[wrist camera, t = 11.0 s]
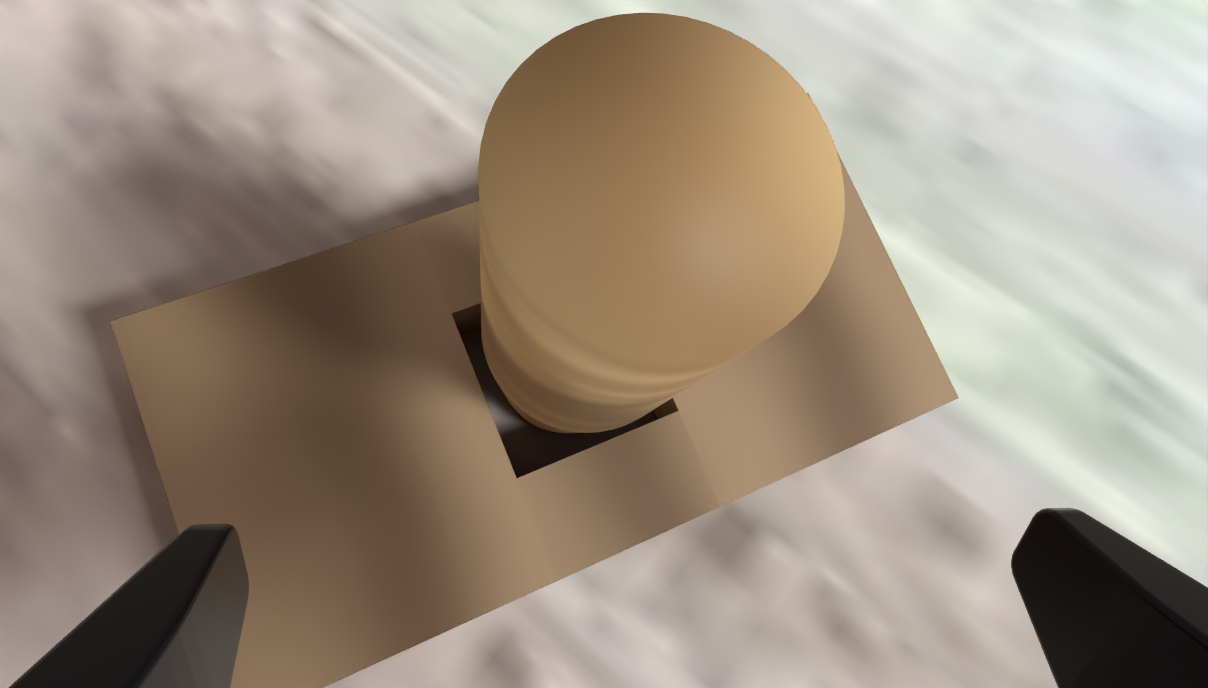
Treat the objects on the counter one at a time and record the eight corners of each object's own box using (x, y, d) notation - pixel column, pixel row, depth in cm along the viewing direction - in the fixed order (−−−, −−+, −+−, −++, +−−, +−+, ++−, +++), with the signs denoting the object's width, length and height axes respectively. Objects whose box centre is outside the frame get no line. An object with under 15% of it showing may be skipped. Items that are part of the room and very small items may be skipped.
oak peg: (515, 480, 22) (567, 421, 8) (460, 339, 22) (422, 68, 9) (654, 422, 23) (905, 284, 9) (597, 288, 23) (752, -26, 10)
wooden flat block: (271, 699, 20) (240, 724, 17) (153, 344, 21) (110, 321, 19) (910, 409, 24) (958, 397, 22) (777, 132, 25) (808, 92, 23)
